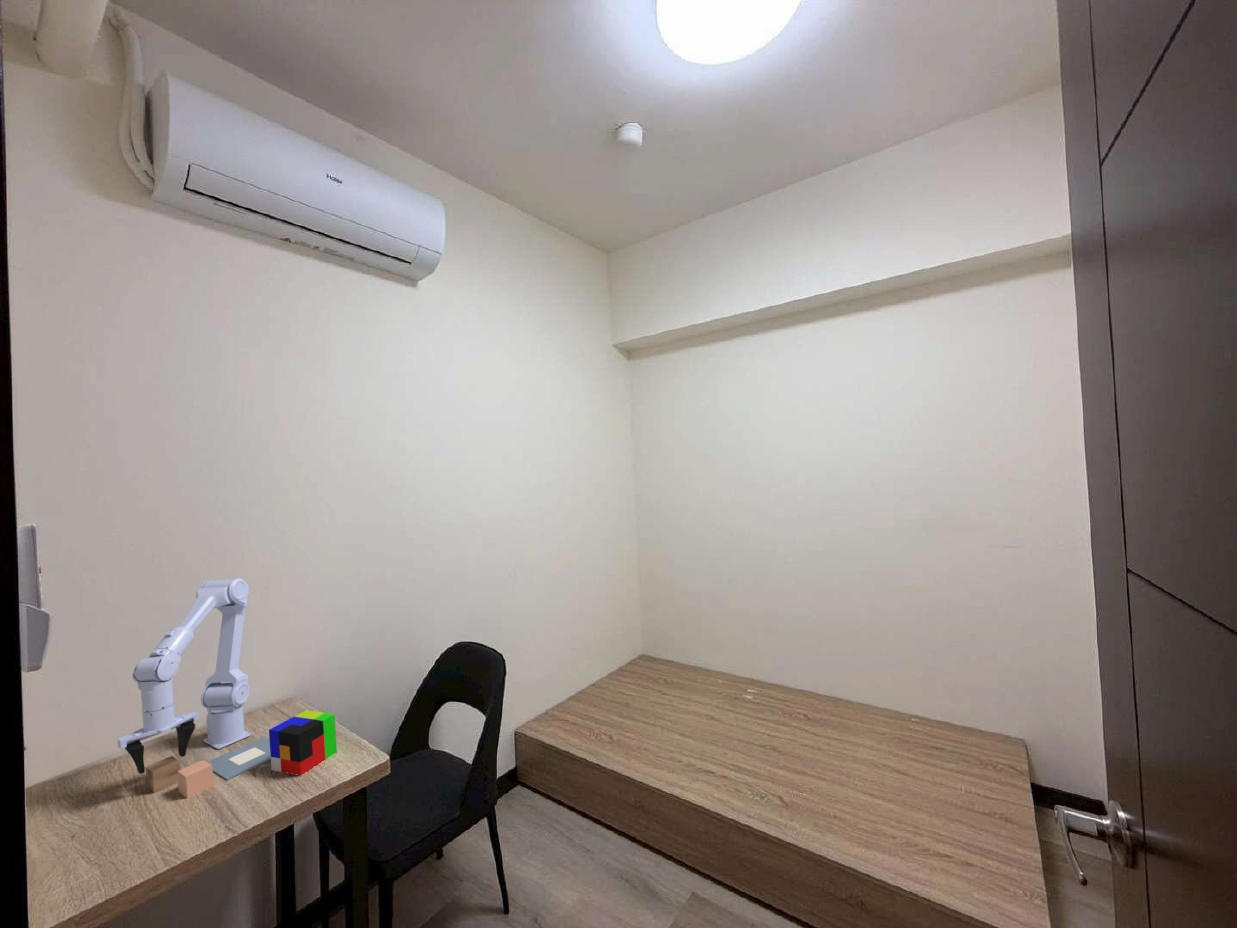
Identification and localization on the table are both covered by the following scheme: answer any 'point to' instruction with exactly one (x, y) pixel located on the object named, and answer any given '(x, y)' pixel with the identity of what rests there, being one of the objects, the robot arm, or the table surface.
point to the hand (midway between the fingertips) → (162, 763)
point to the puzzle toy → (302, 742)
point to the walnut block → (162, 774)
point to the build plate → (242, 759)
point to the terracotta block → (195, 778)
